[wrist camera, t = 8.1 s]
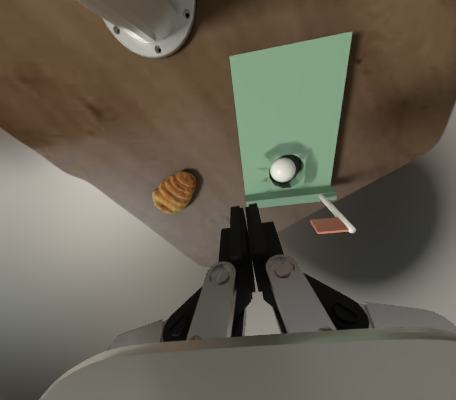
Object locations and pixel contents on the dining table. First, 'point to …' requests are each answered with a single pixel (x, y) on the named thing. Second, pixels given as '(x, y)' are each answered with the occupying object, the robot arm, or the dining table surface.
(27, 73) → the dining table surface
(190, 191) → the pastry
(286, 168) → the ball
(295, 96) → the mat
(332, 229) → the flag
